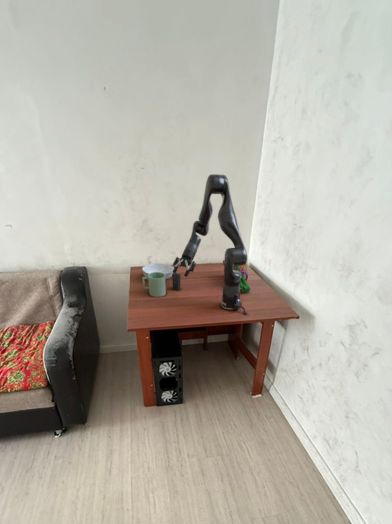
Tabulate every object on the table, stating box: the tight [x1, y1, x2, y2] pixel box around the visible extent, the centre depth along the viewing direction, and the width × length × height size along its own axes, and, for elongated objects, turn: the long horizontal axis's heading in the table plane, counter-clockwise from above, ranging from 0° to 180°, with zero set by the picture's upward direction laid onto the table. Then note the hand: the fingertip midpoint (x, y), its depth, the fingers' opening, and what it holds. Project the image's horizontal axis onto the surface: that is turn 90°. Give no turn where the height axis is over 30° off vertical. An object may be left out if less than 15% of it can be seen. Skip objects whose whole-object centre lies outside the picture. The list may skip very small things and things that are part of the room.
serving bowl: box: [142, 262, 174, 280], centre depth 196 cm, size 21×21×7 cm
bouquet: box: [222, 259, 251, 293], centre depth 189 cm, size 20×16×30 cm
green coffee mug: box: [142, 272, 167, 298], centre depth 176 cm, size 14×10×12 cm
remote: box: [171, 272, 181, 291], centre depth 182 cm, size 3×4×10 cm, turn 57°
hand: (179, 274), depth 182 cm, fingers open, 8 cm apart
